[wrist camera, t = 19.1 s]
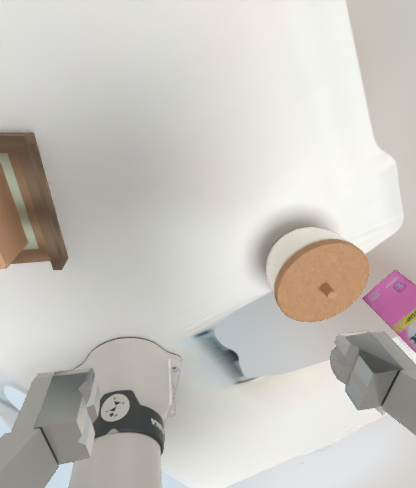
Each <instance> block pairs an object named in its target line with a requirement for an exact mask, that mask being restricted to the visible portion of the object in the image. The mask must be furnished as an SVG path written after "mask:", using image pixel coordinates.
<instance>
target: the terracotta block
mask: <svg viewBox="0 0 416 488" xmlns="http://www.w3.org/2000/svg"><path fill="white" fill-rule="evenodd" d="M27 244H28V240H27V237H26V234H25V231H24V228H23V226H22V223H21V220H20V217H19V214H18V211H17V208H16V205H15V202H14V199H13V197H12V194H11V191H10V188H9V185H8V182H7V179H6V176H5V173H4V170H3V168H2V165H1V163H0V269H5V268H7V267H8V266H9V265H10V264H11V263H12V262H13V260H14V259H15V258H16V257H17V256H18V254H19V253H20V252H21V251H22V250H23V248H24V247H25V246H26V245H27Z"/></svg>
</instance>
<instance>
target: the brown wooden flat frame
mask: <svg viewBox="0 0 416 488" xmlns="http://www.w3.org/2000/svg"><path fill="white" fill-rule="evenodd" d="M0 163H1V165H2V168H3V170H4V173H5V176H6V179H7V182H8V185H9V188H10V191H11V194H12V197H13V199H14V202H15V205H16V208H17V211H18V214H19V217H20V220H21V223H22V226H23V228H24V231H25V234H26V237H27V240H28V244H27V245H26V246H25V247H24V248H23V250H22V251H21V252H20V253H19V254H18V256H17V257H16V258H15V259H14V260H13V262H12V263H11V264H16V263H29V262H41V261H51V264H52V267H53V270H62V269H63V267H64V265H65V263H66V261H67V259H68V256H67V252H66V249H65V245H64V241H63V238H62V234H61V230H60V227H59V223H58V220H57V216H56V212H55V209H54V205H53V202H52V198H51V194H50V191H49V187H48V183H47V180H46V176H45V173H44V169H43V165H42V162H41V158H40V154H39V151H38V147H37V144H36V140H35V136H34V133H0Z"/></svg>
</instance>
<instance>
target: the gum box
mask: <svg viewBox="0 0 416 488" xmlns="http://www.w3.org/2000/svg"><path fill="white" fill-rule="evenodd" d="M363 300H364V301H365V302H366V303H367V304H368V305H369V306H370V307H371V308H372V309H373V310H374V311H375V312H376V313H377V314H378V315H379V316H380V317H381V318H382V319H383V320H384V321H385V322H386V323H387V324H388V325H389V326H390V327H391V328H392V329H393V330H394V331H395V332H396V333H397V334H398V335H399V336H400V337H401V338H402V339H403V340H404V341H405V342H406V343H407V345H408V346H409V347H410V348H411V349H412V350H413V351H415V352H416V285H415V284H414V283H412V282H411V281H410V280H408V279H407V278H405V277H404V276H403V275H402V274H400V273H399V272H398V271H397V270H394V271H393V272H392V273H391V274H390V275H388V276H387V277H386V278H385V279H384V280H383V281H381V282H380V283H379V284H378V285H377V286H375V287H374V288H373V289H372V290H371V291H370V292H369V293H368V294H367V295H366V296H364V297H363Z"/></svg>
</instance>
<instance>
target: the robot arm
mask: <svg viewBox="0 0 416 488" xmlns="http://www.w3.org/2000/svg"><path fill="white" fill-rule="evenodd" d="M334 343H335V344H336V345H337V346H336V347H335V348H334V349H333V350H332V351H331V355H330V363H331V367H332V370H333V372H334V374H335V376H336V377H337V379H338V380H340V381H341V382H343V383H344V384H346V388H345V392H346V393H347V395H348V396H349V398H350V399H351V401H352V402H353V404H354V405H355V407H356V409H357V410H364V409H370V408H377V407H382V409H383V410H384V411H385V412H387V413H388V414H389V415H391V416H392V417H393V418H394V419H396V420H397V421H398V422H399V423H401V424H402V425H403V426H405V427H406V428H407V429H408V430H410V431H411V432H412V433H413V434H415V435H416V364H415V363H414V362H413V361H412V360H411V359H410V358H409V357H408V356H407V355H406V354H405V353H404V352H403V351H402V350H401V348H400V347H399V346H398V345H397V344H396V343H395V342H394V341H393V340H392V339H391V338H390V337H389V336H388V335H387V334H386V333H385V332H384V331H382V330H380V329H375V330H367V331H358V332H351V333H345V334H339V335H338V336H337V337H336V339H335V342H334ZM180 368H181V358H180V357H179V356H177V355H174V354H171V353H168V352H166V351H165V350H163V349H162V348H161V347H160V346H158V345H157V344H155V343H153V342H150V341H147V340H143V339H138V338H122V339H116V340H112V341H109V342H107V343H104V344H102V345H100V346H99V347H97V348H96V349H95V350H93V351H92V352H91V353H90V355H89V356H88V357H87V359H86V361H85V362H84V363H83V364H82V365H80V366H78V367H77V368H75V369H74V370H68V371H58V372H50V373H42V374H38V375H37V376H36V377H35V379H34V380H33V382H32V384H31V387H30V389H29V391H28V394H27V396H26V399H25V401H24V403H23V406H22V408H21V410H20V413H19V415H18V417H17V420H16V422H15V424H14V427H13V429H12V431H11V433H6V434H4V435H3V436H2V437H1V438H0V488H45V486H46V485H47V483H48V482H49V480H50V479H51V477H52V476H53V475H54V473H55V471H56V470H57V469H58V467H59V466H58V465H59V464H64V463H69V462H73V463H74V465H73V470H72V474H71V478H70V483H69V487H68V488H162V477H161V455H162V453H163V449H164V440H165V433H164V424H165V421H166V417H173V416H175V402H174V395H175V390H176V386H177V381H178V377H179V372H180Z"/></svg>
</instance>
